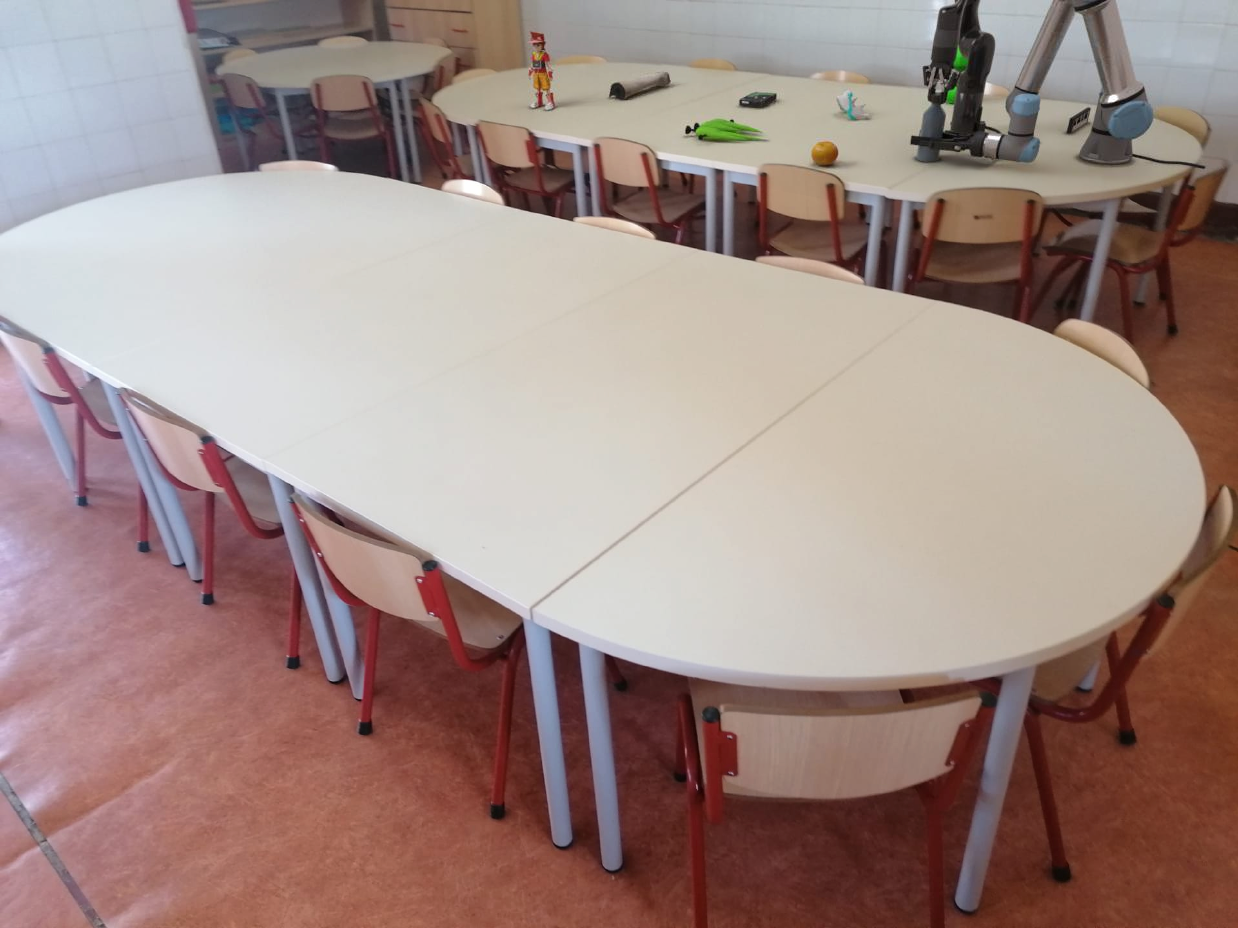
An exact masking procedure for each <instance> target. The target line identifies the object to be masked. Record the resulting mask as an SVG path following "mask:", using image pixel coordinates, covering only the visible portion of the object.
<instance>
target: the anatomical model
mask: <svg viewBox="0 0 1238 928" xmlns="http://www.w3.org/2000/svg"><path fill="white" fill-rule="evenodd" d="M853 96H854V94H853V91H850V90H849V89H845V90H844V92H843V93H842V94H839V95H837V96H836V103H837V105H838V107H839V109H840V111H842V112H845V113H846V115H847V117H848V118H849V119H850V120H853V121H854V120H857V119H861V118H865V119H866V118H869V117H870V114H869V113H865V112H863V110H864V108H865V107H866V103H861V104H859V105H855V102H856V101H857V100H858V97H854V98H853Z"/></svg>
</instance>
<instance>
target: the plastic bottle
mask: <svg viewBox="0 0 1238 928" xmlns="http://www.w3.org/2000/svg"><path fill="white" fill-rule="evenodd" d="M967 63H968V59H966V58H964V57H963V56H962V55H961V54H960V51H959V46H958V50H957V56H956V60H955V62H954V69H955V70H956V71H960V72H963V71H965V70H966V68H967ZM950 78H951V77H950ZM957 83H958V81H957ZM945 87H946V84H945ZM956 90H957V84H956V86H955V88H954V90H950V91H948V95H947V101H946V102H947V103H948V104H954V103H955V96H956Z"/></svg>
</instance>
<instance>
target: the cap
mask: <svg viewBox="0 0 1238 928" xmlns="http://www.w3.org/2000/svg"><path fill="white" fill-rule="evenodd" d="M940 93H941V91H940V92H939V91H938V92H937V91H936V92H934V93H931V97H930V101H929V103H930V104H932V103H939V99H940Z"/></svg>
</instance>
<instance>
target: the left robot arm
mask: <svg viewBox="0 0 1238 928" xmlns="http://www.w3.org/2000/svg"><path fill="white" fill-rule="evenodd" d="M980 4H981V0H954V3H952V4H950V5H944V6H942V7H940V8H939V10H938V13H937V20H936V25H935V26H936V28H935V32H934V35H933V39H932V40H933V41H932V48H931V55H930V61H931V62H930V64H927V65H923V66H922V76H923V77H922V78H923V85H924V86H925V87H927V90H928V91H927V102H930V97H931V93H934V92H937V88H936V87H937V86H938V82H939V84H940V90H941V91H940V99H939V104H941V105H945V104H946V102H947V95H948V91H950V90H954V88H955V86H956V84H957V90H956V96H955V103H953V110H952V115H951V121H950V123H949V126H950V129H949V131H954V132H961V133H969V134H972V133H973V134H975V133H976V132H986V130H988V131H991V132H993V133H998V134H1003V133H1002V132H1001V130H999V129H997V128H995V127H991V126H987V123H986V121H985V120H982V115H983V109H984V107H983V102H984V96H985V90H986V83H987V79H988V77H989V75H990V73H991V70H992V65H993V62H994V57H995V51H996V38H995V36H994V35H993V34H992V33H990V32H987V31H984V30H982V28H981V24H980V17H979V9H980V8H979V7H980ZM958 46H959V51H960V54H961V55H962V56H963V57H964V58H966V59H968V63H967V68H966V70H965V71H963V72H960V71H956V70H955V69H954V62H955V60H956V56H957V50H958ZM950 77H951V78H950ZM957 81H958V83H957ZM945 85H946V87H945Z"/></svg>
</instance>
